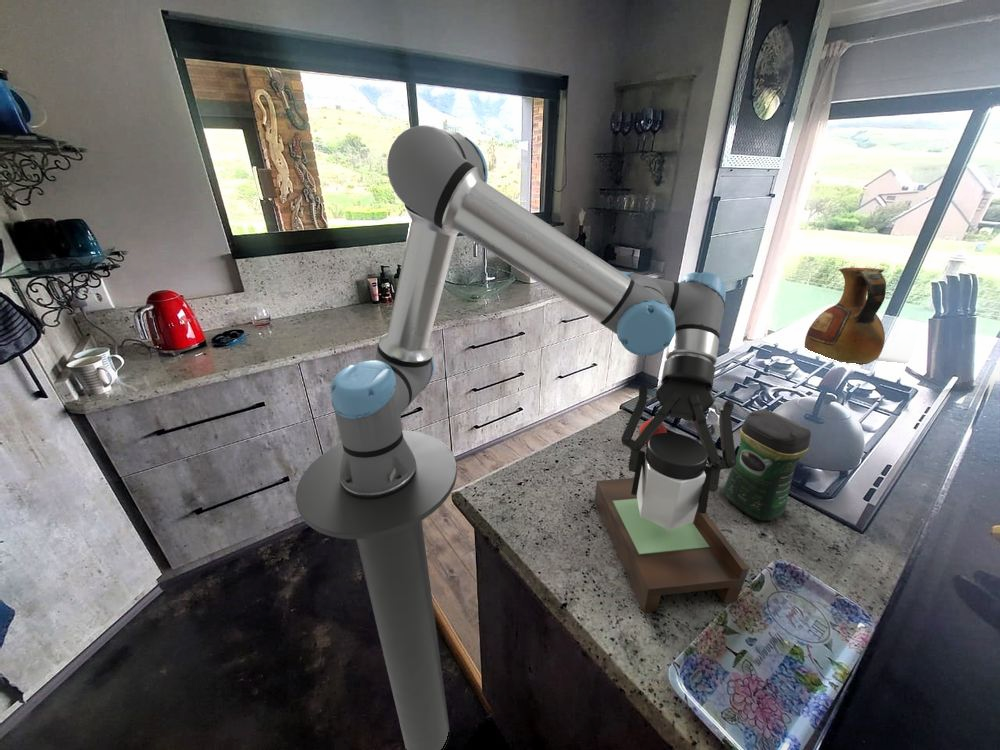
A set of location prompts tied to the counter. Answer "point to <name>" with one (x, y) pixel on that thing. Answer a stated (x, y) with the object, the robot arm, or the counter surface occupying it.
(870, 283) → the ceramic pitcher
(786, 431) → the coffee jar
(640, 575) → the shelf
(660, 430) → the onion
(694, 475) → the jar
